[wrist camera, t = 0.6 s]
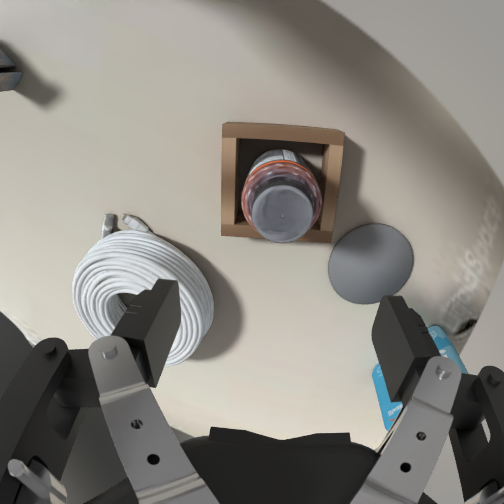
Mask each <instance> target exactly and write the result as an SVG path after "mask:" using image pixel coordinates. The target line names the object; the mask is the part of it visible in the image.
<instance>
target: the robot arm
mask: <svg viewBox="0 0 504 504" xmlns="http://www.w3.org/2000/svg"><path fill="white" fill-rule="evenodd" d="M180 323H181V305H180V294H179V284H178V281H177V280H170V279H160V278H159V279H157V281H156V282H155V284H154V286H153V287H152V289H151V290H146V289H145V290H143V291H142V292H141V293H139V294H138V295H136V296H135V297H134V299H133V300H132V302H131V304H130V306H129V307H128V308H127V310H126V313H124V314H123V316H122V318H121V319H120V321H119V322H118V324H117V325H116V327H115V329H114V330H113V332H112V333H111V335H110V336H104V337H101V338H99V339H97V340H96V341H94V342H93V343H92V344H91V346H90V347H89V349H75V350H68V347H67V345H66V343H65V342H64V341H63V340H62V339H59V338H47V339H44V340H42V341H40V342H39V343H38V344H37V345H36V346H35V347H34V348H33V350H32V351H31V353H30V354H29V356H28V357H27V359H26V360H25V362H24V363H23V365H22V366H21V368H20V369H19V371H18V372H17V374H16V375H15V377H14V378H13V380H12V382H11V383H10V385H9V386H8V388H7V390H6V391H5V393H4V395H3V396H2V398H1V400H0V504H66V499H67V494H66V490H65V487H64V486H63V484H62V483H61V482H60V480H61V477H62V474H63V471H64V468H65V466H66V463H67V460H68V458H69V455H70V453H71V450H72V447H73V445H74V442H75V440H76V437H77V435H78V432H79V429H80V427H81V425H82V422H83V420H84V417H85V415H86V413H87V410H88V408H89V407H102V410H103V413H104V416H105V419H106V422H107V425H108V428H109V431H110V434H111V436H112V439H113V442H114V444H115V447H116V449H117V452H118V454H119V457H120V459H121V462H122V464H123V466H124V469H125V471H126V473H127V476H128V477H127V478H125V479H124V480H122V481H121V482H119V483H118V484H116V485H114V486H113V487H111V488H110V489H108V490H106V491H104V492H103V493H101V494H100V495H98V496H96V497H94V498H93V499H91V500H89V501H87V502H86V503H84V504H437V503H436V502H435V501H434V500H432V499H431V498H430V497H429V496H428V495H426V494H425V493H424V492H423V491H424V489H425V487H426V485H427V483H428V480H429V478H430V476H431V474H432V471H433V470H434V467H435V465H436V463H437V460H438V458H439V456H440V453H441V451H442V448H443V446H444V443H445V440H446V438H447V435H448V433H449V437H450V440H451V444H452V448H453V452H454V456H455V460H456V464H457V469H458V473H459V478H460V482H461V487H462V492H463V497H464V504H504V372H503V371H502V370H500V369H499V368H497V367H494V366H485V367H483V368H482V369H481V371H480V372H479V374H478V375H477V376H476V375H471V374H465V373H461V370H460V368H459V366H458V365H457V364H456V363H455V362H454V361H453V360H451V359H449V358H447V357H443V356H441V354H440V352H439V350H438V348H437V346H436V344H435V342H434V340H433V338H432V336H431V335H430V334H429V331H428V329H427V327H425V323H424V321H423V320H422V318H421V316H420V315H419V314H418V313H417V312H415V311H414V310H413V309H412V308H408V306H407V304H406V302H405V301H404V299H403V297H402V296H390V295H384V296H383V297H382V299H381V301H380V305H379V308H378V311H377V314H376V317H375V320H374V324H373V327H372V342H373V345H374V348H375V351H376V354H377V357H378V361H379V364H380V367H381V370H382V374H383V377H384V381H385V384H386V387H387V391H388V394H389V398H390V402H391V403H392V402H402V405H403V407H402V408H401V410H400V411H399V413H398V415H397V417H396V419H395V420H394V422H393V424H392V426H391V427H390V429H389V431H388V433H387V434H386V436H385V438H384V439H383V441H382V443H381V444H380V446H379V447H378V449H377V450H376V451H374V450H372V449H371V448H369V447H366V446H364V445H361V444H358V443H354V442H351V440H350V433H316V434H312V435H307V436H302V437H297V438H292V439H286V440H278V439H274V438H270V437H267V436H263V435H260V434H256V433H253V432H249V431H246V430H237V429H228V428H219V427H211V429H210V434H209V436H201V437H196V438H192V439H189V440H186V441H183V442H181V443H179V442H178V440H177V439H176V437H175V435H174V433H173V432H172V430H171V428H170V426H169V424H168V422H167V421H166V419H165V417H164V415H163V413H162V411H161V409H160V407H159V405H158V403H157V401H156V399H155V397H154V395H153V393H152V391H151V389H150V387H153V388H156V386H157V384H158V381H159V378H160V376H161V373H162V371H163V368H164V365H165V363H166V360H167V358H168V355H169V353H170V350H171V347H172V345H173V342H174V340H175V337H176V335H177V332H178V330H179V327H180ZM484 419H486V422H487V424H488V427H489V430H490V434H491V436H490V441H489V443H488V441H487V438H486V435H485V432H484V430H483V427H482V424H481V423H482V421H483V420H484Z"/></svg>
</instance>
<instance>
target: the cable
mask: <svg viewBox="0 0 504 504" xmlns="http://www.w3.org/2000/svg"><path fill="white" fill-rule="evenodd" d="M122 219H123V220H124V223H125V224H127V225H128V226H129V227H130V228H131V229H132V230H123V231H118V232H115V233H112V234H111V232H112V228H113V224H114V223H113V221H114V215H113V214H105V216H104V221H103V225H102V238H103V239H102V240H100V241H99V242H98V243H96V244H95V245H94V246H93V247H92V248H91V249H90V250H89V251H88V253H87V254H86V256H85V257H84V259H83V260H82V261H81V262H80V263H79V265H78V266H77V268H76V271H75V273H74V277H73V285H72V296H73V303H74V306H75V309H76V312H77V314H78V316H79V318H80V320H81V321H82V323H83V324H84V326H85V327H86V329H87V330H88V331H89V333H90V334H91V335H92V336H93V337H94V338H95V339H96V340H97V339H99V338H101V337H104V336H110V335H111V333H112V332H113V330H114V329H115V327H116V325H117V324H118V322H119V321H120V319H121V318H122V316H123V314H124V313H126V310H127V307H126V306H125V305H124V304H123V302H122V301H121V299H120V298H119V296H118V293H132V294H135V295H138V294H139V293H141V292H142V291H143V290H145V289H146V290H151V289H152V287H153V286H154V284H155V282H156V281H157V279H159V278H160V279H170V280H177V281H178V284H179V294H180V305H181V323H180V327H179V330H178V332H177V335H176V337H175V340H174V342H173V345H172V347H171V350H170V353H169V355H168V358H167V360H166V363H165V365H164V367H169V366H174V365H177V364H179V363H181V362H183V361H185V360H186V359H188V358H189V357H190V356H191V355H192V354H193V353H194V351H195V350H196V349H197V347H198V345H199V344H200V342H201V340H202V339H203V337H204V336H205V334H206V333H207V331H208V330H209V328H210V326H211V324H212V320H213V315H214V302H213V296H212V293H211V290H210V287H209V285H208V283H207V281H206V279H205V277H204V276H203V274H202V273H201V271H200V270H199V269H198V267H197V266H196V265H195V264H194V263H193V262H192V261H191V260H190V259H189V258H188V257H187V256H186V255H185V254H184V253H182V252H181V251H180V250H179V249H178V248H176V247H175V246H173V245H172V244H170V243H168V242H167V241H165V240H163V239H161V238H159V237H157V236H156V235H154V234H153V233H152V232H151V231H149V230H148V227H147V226H146V225H145V224H144V223H143V222H141V221H140V220H139V219H138V218H136V217H135V216H131V215H127V214H123V215H122Z"/></svg>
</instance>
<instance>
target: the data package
mask: <svg viewBox="0 0 504 504" xmlns="http://www.w3.org/2000/svg"><path fill="white" fill-rule="evenodd" d="M428 331H429V334H430V335H431V336H432V338H433V340H434V342H435V344H436V346H437V348H438V350H439V352H440V354H441V356H443V357H447V358H449V359H451V360H453V361H454V362H455V363H456V364H457V365H458V366H459V368H460V370H461V373H465V374H468V372H467V370H466V368H465V366H464V364H463V362H462V361H461V359H460V357H459V355H458V353H457V351H456V349H455V348H454V346H453V344H452V342H451V341H450V339H449V338H448V337H447V335H446V334H445V333H444V331H443V330H442V329H441V327H439V326H431V327H429V328H428ZM372 377H373V381H374V385H375V389H376V393H377V397H378V401H379V405H380V409H381V413H382V417H383V421H384V425H385V428H386V430H387V431H389V429H390V427H391V426H392V424H393V422H394V420H395V419H396V417H397V415H398V413H399V411H400V410H401V408H402V407H403V405H402V402H392V403H391V402H390V398H389V394H388V391H387V387H386V384H385V381H384V377H383V374H382V370H381V367H380V364H378V365H377V366H376V367H375V368H374V370H373V373H372Z"/></svg>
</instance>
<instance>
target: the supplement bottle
mask: <svg viewBox="0 0 504 504" xmlns="http://www.w3.org/2000/svg"><path fill="white" fill-rule="evenodd" d="M241 204H242V210H243V213H244V216H245V218H246V220H247V222H248V223H249V224H250V226H251V227H252V228H253V229H254V230H256V231H257V232H258V233H260V234H261V235H262V236H263V237H264V238H266V239H268V240H270V241H273V242H277V243H288V242H292V241H295V240H297V239H299V238H300V237H302V236H303V235H304V234H305V233H306V232H307V231H308V230H309V229H310V228H311V227H312V226H313V225H314V223H315V222H316V220H317V218H318V217H319V214H320V212H321V207H322V196H321V191H320V188H319V185H318V183H317V181H316V179H315V177H314V175H313V174H312V172H311V170H310V168H309V167H308V165H307V163H306V162H305V161H304V159H303V158H301V157H300V156H299V155H298V154H296V153H295V152H292V151H290V150H287V149H273V150H269V151H267V152H265V153H263V154H262V155H260V156H259V157H258V158H257V159H256V160H255V161H254V163H253V165H252V166H251V169H250V171H249V174H248V176H247V179H246V182H245V184H244V187H243V191H242V196H241Z"/></svg>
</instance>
